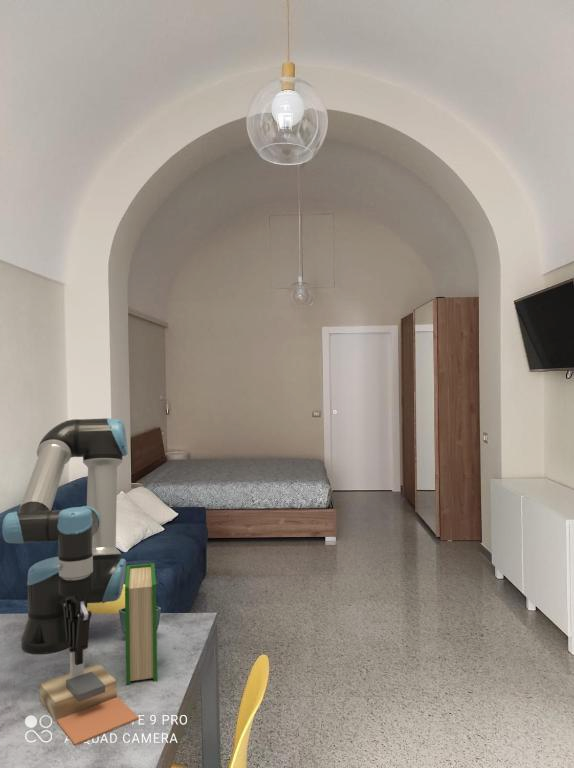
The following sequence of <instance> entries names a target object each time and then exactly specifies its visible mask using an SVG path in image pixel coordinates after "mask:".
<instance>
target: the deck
mask: <svg viewBox="0 0 574 768" xmlns="http://www.w3.org/2000/svg"><path fill="white" fill-rule="evenodd" d="M89 672H93V673H94V674H95V675H96V676H97V677H98V678H99V679H100V680H101V681H102V683H103V684H104V685H105V692H104V693H102V694H99V695H96V696H94V697H91V698H88V699H85V700H83V701H80V702H78V701H77V699H76V698H75V697H74V696H73V695H72V694H71V692H70V691H69V690H68V689H67V688H66V680H68V679H71V677H70V672H68V673H66V674H63V675H60V676H57V677H54V678H51V679H48V680H45V681H42V682H39V701H40V702H41V704H42V705H43V706H44V708H45V709H46V710H47V711H48V713H49V714H50V715H51V717H52V718H53V719H54V721H56V722H57V720H58V719H61V718H63V717H66V716H69V715H71V714H74V713H77V712H79V711H82V710H85V709H87V708H90V707H92V706H95V705H98V704H100V703H103V702H106V701H108V700H111V699H114V698H116V697H118V693H117V692H118V690H117V689H118V687H117V686H118V684H117V680H116V678H115V677H113V676H112V675H111V674H110V673H109V672H108V671H107V670H106V669H105V668H104V667H102V665H100V664H99V663H96V664H93V665H90V666H87V667H84V674H86V673H89Z"/></svg>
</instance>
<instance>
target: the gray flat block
mask: <svg viewBox="0 0 574 768" xmlns="http://www.w3.org/2000/svg"><path fill="white" fill-rule="evenodd" d="M66 688H67V689H68V690H69V691H70V692H71V694H72V695H73V696H74V697H75V698H76V699H77V701H78V702H80V701H83V700H85V699H88V698H91V697H94V696H96V695H99V694H102V693H104V692H105V685H104V684H103V683H102V681H101V680H100V679H99V678H98V677H97V676H96V675H95V674H94V673H93V672H89V673H86V674H83V675H80V676H77V677H74V678H71V679H68V680H66Z"/></svg>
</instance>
